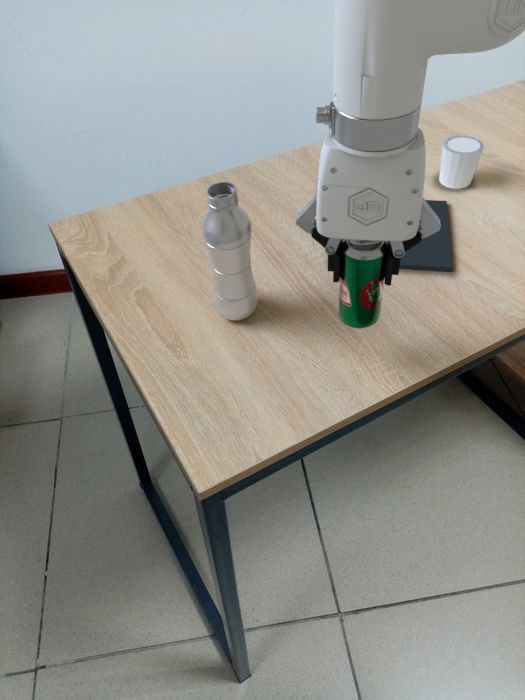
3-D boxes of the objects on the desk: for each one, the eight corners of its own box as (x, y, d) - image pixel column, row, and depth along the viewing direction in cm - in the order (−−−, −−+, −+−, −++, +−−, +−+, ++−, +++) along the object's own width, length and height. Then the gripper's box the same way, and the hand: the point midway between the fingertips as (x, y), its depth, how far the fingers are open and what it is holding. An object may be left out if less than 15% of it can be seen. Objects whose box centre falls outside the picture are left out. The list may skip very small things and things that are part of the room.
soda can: (337, 302, 68) (340, 225, 58) (377, 301, 67) (386, 223, 58) (339, 332, 64) (342, 254, 55) (381, 331, 64) (392, 252, 55)
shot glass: (428, 181, 98) (435, 145, 92) (448, 166, 101) (456, 130, 95) (461, 195, 94) (470, 158, 89) (481, 178, 97) (491, 142, 92)
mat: (445, 204, 93) (446, 200, 92) (451, 271, 81) (452, 267, 80) (341, 199, 95) (342, 195, 95) (332, 263, 84) (333, 259, 83)
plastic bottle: (211, 325, 76) (188, 205, 61) (220, 293, 81) (201, 174, 66) (255, 327, 76) (243, 207, 61) (262, 295, 80) (252, 175, 65)
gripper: (273, 141, 46) (283, 293, 60) (480, 143, 43) (441, 303, 57) (286, 101, 51) (293, 251, 65) (472, 101, 48) (438, 258, 62)
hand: (362, 274), depth 61 cm, fingers closed on soda can, 5 cm apart
